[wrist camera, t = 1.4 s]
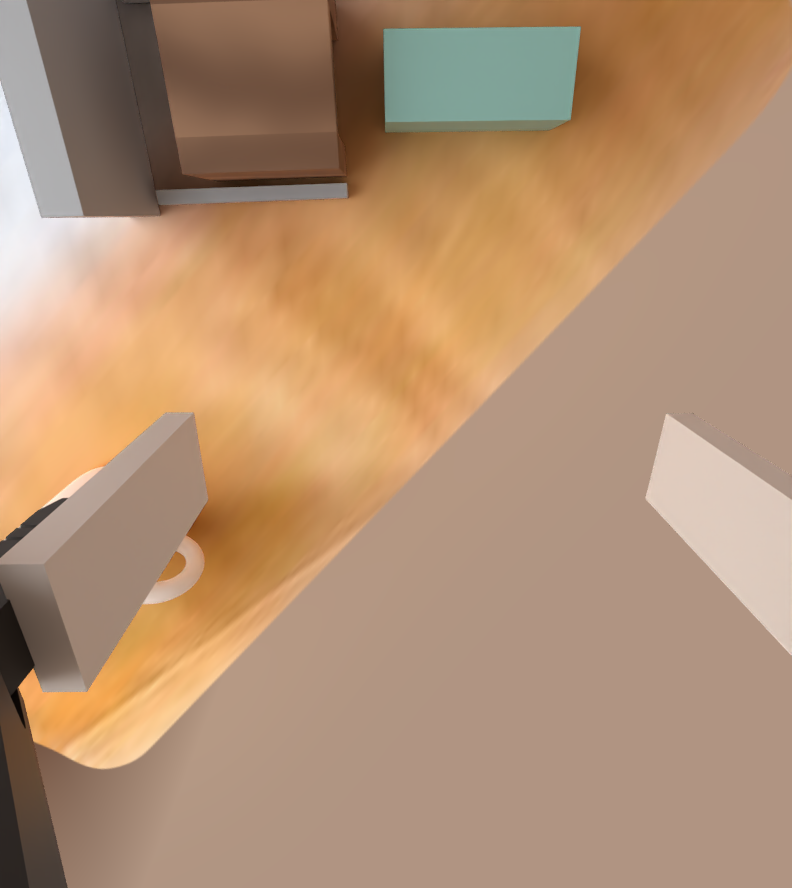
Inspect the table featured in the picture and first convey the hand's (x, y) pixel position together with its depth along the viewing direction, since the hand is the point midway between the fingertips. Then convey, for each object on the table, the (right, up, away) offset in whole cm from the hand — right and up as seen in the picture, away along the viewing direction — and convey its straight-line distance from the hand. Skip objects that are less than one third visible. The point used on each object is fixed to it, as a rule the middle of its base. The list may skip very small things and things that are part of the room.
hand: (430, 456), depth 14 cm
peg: (+3, +21, +16) cm, 27 cm away
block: (-8, +21, +15) cm, 27 cm away
